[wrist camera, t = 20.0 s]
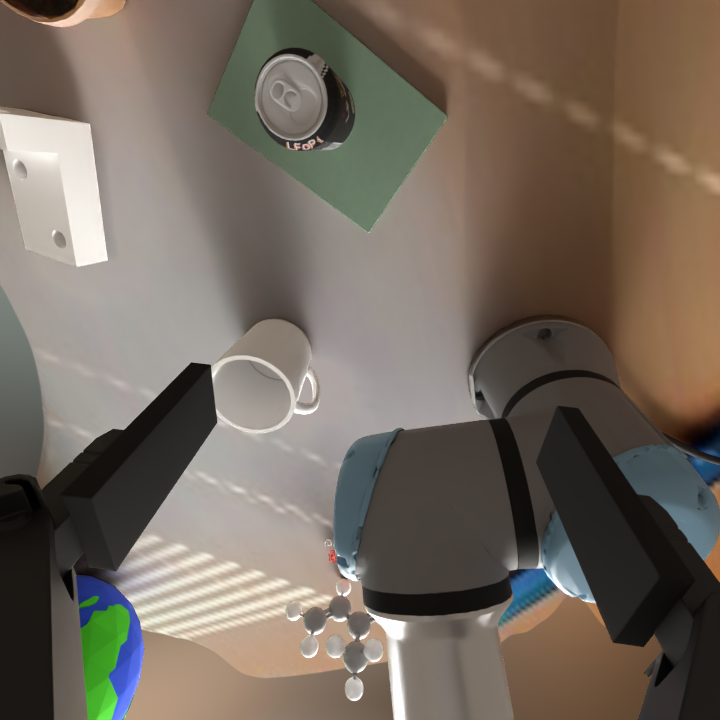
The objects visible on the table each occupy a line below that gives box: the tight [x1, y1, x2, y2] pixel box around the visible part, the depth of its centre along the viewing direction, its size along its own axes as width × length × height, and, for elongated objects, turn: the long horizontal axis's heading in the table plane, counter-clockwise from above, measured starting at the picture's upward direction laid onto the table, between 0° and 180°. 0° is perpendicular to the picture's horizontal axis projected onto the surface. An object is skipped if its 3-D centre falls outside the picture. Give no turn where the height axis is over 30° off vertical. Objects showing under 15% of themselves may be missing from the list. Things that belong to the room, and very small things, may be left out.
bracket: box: [0, 106, 108, 267], centre depth 38 cm, size 13×7×8 cm, turn 170°
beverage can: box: [254, 47, 355, 151], centre depth 30 cm, size 6×6×12 cm
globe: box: [76, 575, 144, 720], centre depth 62 cm, size 30×30×30 cm
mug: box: [211, 319, 320, 433], centre depth 43 cm, size 11×9×10 cm
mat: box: [207, 0, 448, 233], centre depth 35 cm, size 18×12×1 cm, turn 56°
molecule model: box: [286, 539, 383, 701], centre depth 59 cm, size 20×16×16 cm
